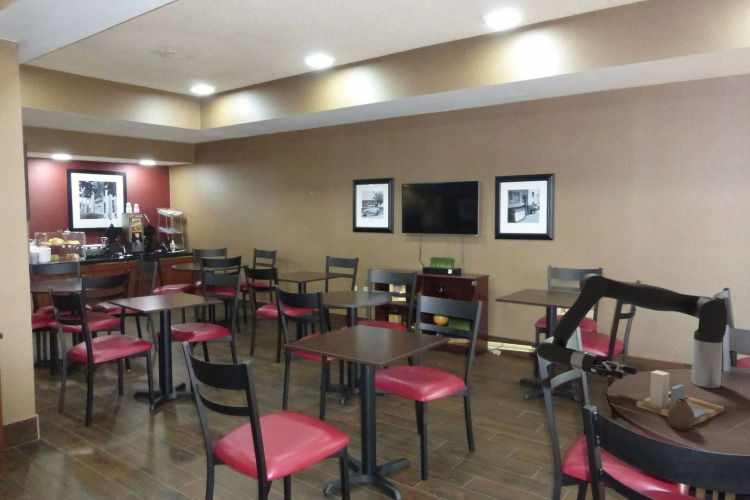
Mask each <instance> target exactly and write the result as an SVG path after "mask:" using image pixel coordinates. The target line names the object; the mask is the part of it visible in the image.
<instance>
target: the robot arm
mask: <svg viewBox="0 0 750 500" xmlns="http://www.w3.org/2000/svg"><path fill="white" fill-rule="evenodd" d="M578 286H579V289H580V290H581V291H580V293H579V295H578V296H577V299H576V300H575V302H574V303H573V304H572V305H571V306H570V307H569V308H568V309H567V311H565V313H563V315H562V316H561V318H559V320H558V321H557V323H556V324H555V326H554V328H553V329H552V331H551V336H552V338H553V340H552V341H551V342H550V341H546V340H545V341H541V342H539V343H538V345H537V346H536V354H537V355H538V357H539V358H540V359H543V360H545V361H547V362H549V363H551V364H552V363H558V364H561V365H563V366H564V367H568V368H571V369H574V370H577V371H578V372H579V371H580V372H582V373H585V374H590V375H592V376H593V375H594V376H600V377H602V378H608V377H609V378H615V379H619V380H622V379H624V373H627V374H629V375H634V376H636V375H637V373H638V372H637V368H634V367H631V366H628V363H626V362H621V361H617V360H614V359H613V360H610V361H609V360H606V361H605V360H604V358H603V356H602V355H600V354H596V353H593V352H590V351H585V350H578V349H574V348H570V347H567V346H568V342H569V340H570V339H571V338H572V336H573V334H574V333H575V332H576V330H577V328H578V327H579V325H580V324H581V323H582V321H583V320H584V319H585V317H586V316H587V314H588V313H589V312H590V310H592V308H593V307H594V306H595V305H596V304H597V303H598V302H599V301H600V300H601V299H602V298H606V299H613V300H617V301H620V302H623V303H626V304H628V305H632V306H635V307H637V308H642V309H645V310H646V309H647V310H651V311H658V312H674V313H681V314H684V315H688V316H690V317H694V318H696V319H698V327H697V329H695V330H694V332H693V345H692V346H693V347H692V361H691V362H692V364H691V366H692V367H691V379H690V380H691V381H690V382H691V383H692V385H695V386H698V387H701V388H706V389H719V388H720V387H721V379H722V378H721V377H722V361H723V360H722V358H723V341H724V337H725V335H726V331H727V321H728V308H727V306H726V304H725V303H724V302H723V301H721V300H719V299H716V298H714V297H712V296H711V297H710V296H704V295H703V296H702V295H694V294H693V295H692V294H684V293H679V292H678V291H677V292H676V291H674V290H671V289H668V288H664V287H660V286H656V285H651V284H647V283H640V282H634V281H633V282H631V281H630V282H629V281H621V280H616V279H613V278H609V277H605V276H602V275H601V274H598V273H588V274H585V275H583V276H582V277H581V278H580V280H579V283H578Z"/></svg>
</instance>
